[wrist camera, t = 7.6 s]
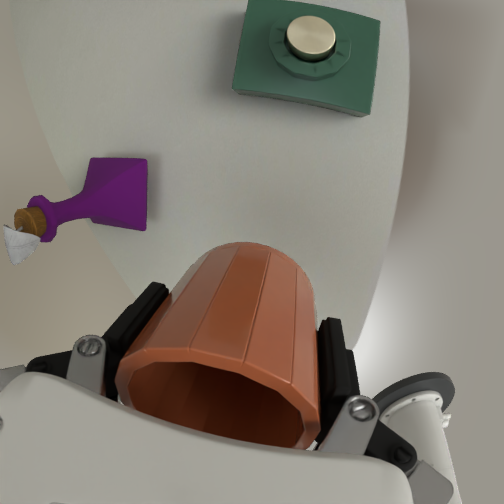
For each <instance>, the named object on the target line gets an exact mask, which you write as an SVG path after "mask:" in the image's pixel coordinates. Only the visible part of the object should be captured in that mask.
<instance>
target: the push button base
mask: <svg viewBox="0 0 504 504" xmlns="http://www.w3.org/2000/svg"><path fill="white" fill-rule="evenodd" d="M302 16H315V17H319V18H321V19H323V20H325V21H326V22H328V23H329V24H330V25H331V27H332V28H333V30H334V32H335V42H334V45H333V47H332V50H331V52H330V53H329V55H328V56H327V57H325V58H323V59H321V60H317V61H308V60H304V59H301V58H299V57H297V56H296V55H295V54H294V53H293V52H292V51H291V50H290V48H289V46H288V39H287V29H288V26H289V25H290V23H291V22H292V21H293V20H295V19H296V18H299V17H302ZM379 36H380V21H379V20H376V19H372V18H369V17H366V16H362V15H359V14H355V13H351V12H347V11H343V10H339V9H334V8H330V7H325V6H320V5H314V4H308V3H302V2H294V1H286V0H248V5H247V10H246V14H245V19H244V24H243V29H242V34H241V40H240V45H239V50H238V56H237V61H236V67H235V72H234V78H233V84H232V89H233V90H234V91H236V92H237V93H238V94H240V95H250V96H258V97H266V98H273V99H280V100H286V101H292V102H297V103H303V104H308V105H313V106H318V107H322V108H327V109H331V110H335V111H339V112H343V113H347V114H351V115H355V116H359V117H364V116H367V115H370V112H371V106H372V99H373V92H374V85H375V77H376V68H377V59H378V48H379Z"/></svg>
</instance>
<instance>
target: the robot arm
mask: <svg viewBox="0 0 504 504" xmlns="http://www.w3.org/2000/svg"><path fill="white" fill-rule="evenodd" d="M168 295H169V289H168V288H166V286H165V284H161V283H157V282H152V283H151V284H150V285H149V286H148V287H147V288H146V289H145V290H144V292H143V293H142V294H141V295H140V296H139V297H138V298H137V299H136V300H135V302H134V303H133V304H131V305H129V306H128V307H127V308H126V309H125V310H124V312H123V313H122V314H121V315H120V316H119V317H118V319H117V320H116V321H115V322H114V323H113V324H112V325H111V327H110V328H109V329H108V330H107V331H106V332H105V334H104V335H103V336H102V337H99V336H97V335H86V336H83V337H81V338H79V339H78V340H77V341H76V342H75V344H74V347H73V350H71V351H66V352H61V353H56V354H51V355H45V356H40V357H36V358H34V359H33V360H31V361H30V362H29V364H28V365H27V367H25V366H24V365H19V366H15V367H10V368H5V369H0V504H463V503H462V500H461V497H460V494H459V490H458V485H457V482H456V477H455V473H454V469H453V464H452V460H451V456H450V452H449V449H448V445H447V441H446V438H445V434H444V431H443V428H445V427H447V426H448V423H449V421H448V419H450V417H451V414H450V413H444V414H443V413H442V411H441V407H442V403H443V400H442V397H441V395H440V394H439V393H438V392H436V391H432V390H426V391H420V392H416V393H413V394H410V395H407V396H405V397H403V398H401V399H399V400H397V401H395V402H394V403H393V404H391V405H390V406H389V407H387V408H386V409H385V410H384V412H383V413H382V414H381V416H380V418H379V420H378V417H379V408H378V406H377V404H376V403H375V402H374V401H373V400H372V399H370V398H369V397H366V396H363V395H360V390H359V383H358V377H357V371H356V366H355V360H354V355H353V351H352V350H347V349H346V348H345V342H344V336H343V330H342V324H341V320H340V319H336V318H330V317H328V318H327V319H326V320H322V322H321V325H320V328H319V330H318V339H319V358H320V383H321V431H320V433H319V434H318V435H317V437H316V438H315V441H316V442H317V444H316V446H315V447H314V449H313V450H312V451H309V450H301V449H292V448H283V447H276V446H269V445H262V444H256V443H251V442H245V441H240V440H235V439H231V438H226V437H222V436H217V435H213V434H209V433H205V432H202V431H198V430H194V429H191V428H187V427H184V426H180V425H177V424H174V423H171V422H168V421H165V420H162V419H159V418H156V417H153V416H150V415H147V414H145V413H142V412H139V411H137V410H134V409H132V408H129V407H127V406H124V405H122V404H120V400H121V399H120V396H119V394H118V391H117V388H116V385H115V382H114V379H115V376H116V372H117V369H118V366H119V363H120V360H121V359H122V358H123V356H124V355H125V353H126V352H127V350H128V349H129V348H130V346H131V345H132V344H133V342H134V341H135V339H136V338H137V337H138V335H139V334H140V332H141V331H142V330H143V328H144V327H145V326H146V324H147V323H148V322H149V320H150V319H151V318H152V316H153V315H154V313H155V312H156V311H157V309H158V308H159V307H160V305H161V304H162V303H163V301H164V300H165V299H166V298H167V296H168Z"/></svg>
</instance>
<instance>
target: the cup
mask: <svg viewBox="0 0 504 504" xmlns="http://www.w3.org/2000/svg"><path fill="white" fill-rule="evenodd" d="M114 382H115V385H116V388H117V391H118V394H119V396H120V399H121V402H122V403H123V404H124V406H127V407H129V408H132V409H134V410H137V411H139V412H142V413H145V414H147V415H150V416H153V417H156V418H159V419H162V420H165V421H168V422H171V423H174V424H177V425H180V426H184V427H187V428H191V429H194V430H198V431H202V432H205V433H209V434H213V435H217V436H222V437H226V438H231V439H235V440H240V441H245V442H251V443H256V444H262V445H269V446H276V447H283V448H292V449H301V450H306V449H307V448H308V447H310V445H311V444H312V442H313V441H314V440H315V438H316V437H317V435H318V434H319V433H320V431H321V383H320V358H319V339H318V324H317V311H316V305H315V296H314V291H313V287H312V285H311V283H310V280H309V279H308V277H307V275H306V274H305V272H304V271H303V270H302V269H301V267H300V266H299V265H298V264H297V263H296V262H295V261H294V260H292V259H291V258H290V257H288V256H287V255H285V254H284V253H282V252H280V251H278V250H276V249H274V248H271V247H269V246H266V245H262V244H258V243H250V242H235V243H228V244H224V245H221V246H218V247H216V248H213V249H211V250H209V251H208V252H206V253H205V254H203V255H202V256H201V257H200V258H199V259H198V260H197V261H196V262H195V263H194V264H192V265H191V266H190V268H189V269H188V270H187V271H186V273H185V274H184V275H183V277H182V278H181V279H180V280H179V282H178V283H177V284H176V286H175V287H174V288H173V290H172V291H171V292H170V294H169V295H168V296H167V298H166V299H165V300H164V301H163V303H162V304H161V305H160V307H159V308H158V309H157V311H156V312H155V313H154V315H153V316H152V318H151V319H150V320H149V322H148V323H147V324H146V326H145V327H144V328H143V330H142V331H141V332H140V334H139V335H138V337H137V338H136V339H135V341H134V342H133V344H132V345H131V346H130V348H129V349H128V350H127V352H126V353H125V355H124V356H123V358H122V359H121V360H120V363H119V366H118V369H117V372H116V376H115V379H114Z"/></svg>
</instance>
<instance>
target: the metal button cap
mask: <svg viewBox="0 0 504 504" xmlns="http://www.w3.org/2000/svg"><path fill="white" fill-rule="evenodd" d="M287 39H288V46H289V48H290V50H291V51H292V52H293V53H294V54H295V55H296V56H297V57H299V58H301V59H304V60H308V61H317V60H321V59H323V58H325V57H327V56H328V55H329V53H330V52H331V50H332V47H333V45H334V42H335V32H334V30H333V28H332V27H331V25H330V24H329V23H328V22H326V21H325V20H323V19H321V18H319V17H315V16H302V17H299V18H296V19H295V20H293V21H292V22H291V23H290V25H289V26H288V29H287Z"/></svg>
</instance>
